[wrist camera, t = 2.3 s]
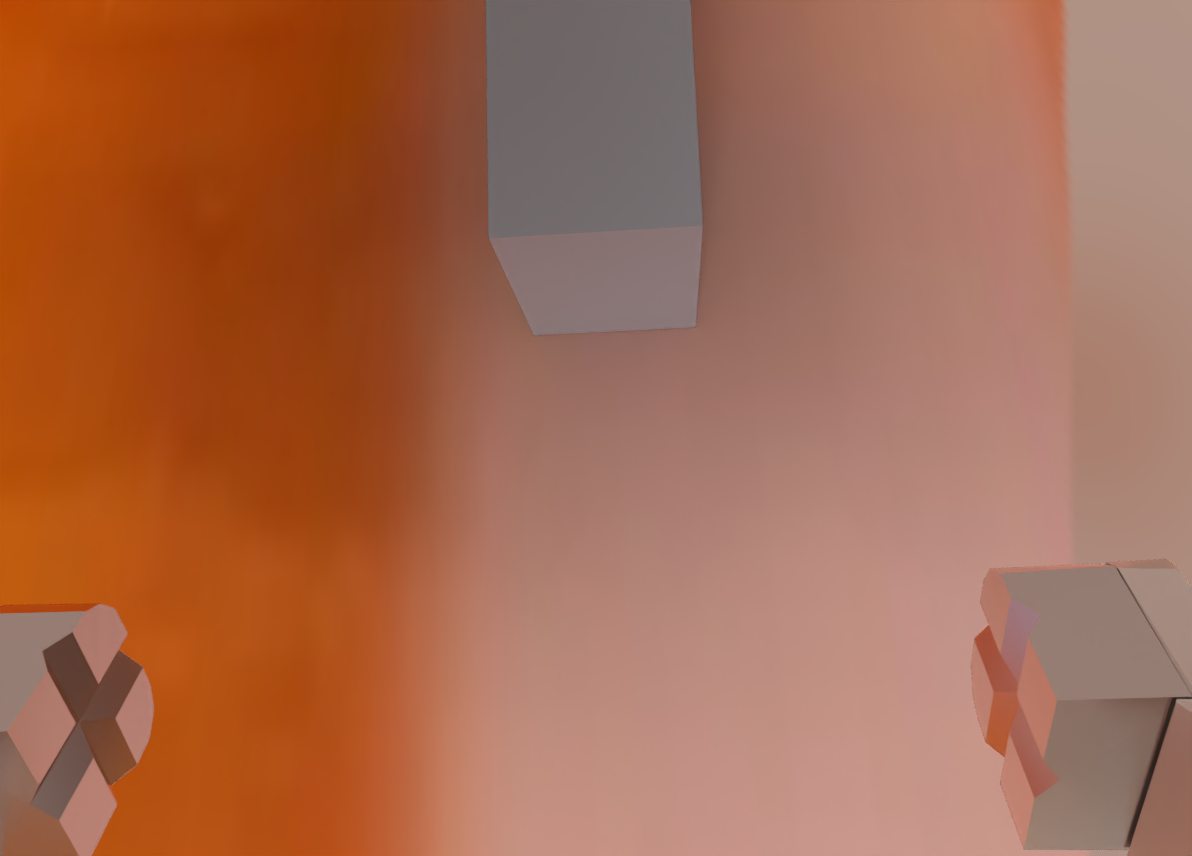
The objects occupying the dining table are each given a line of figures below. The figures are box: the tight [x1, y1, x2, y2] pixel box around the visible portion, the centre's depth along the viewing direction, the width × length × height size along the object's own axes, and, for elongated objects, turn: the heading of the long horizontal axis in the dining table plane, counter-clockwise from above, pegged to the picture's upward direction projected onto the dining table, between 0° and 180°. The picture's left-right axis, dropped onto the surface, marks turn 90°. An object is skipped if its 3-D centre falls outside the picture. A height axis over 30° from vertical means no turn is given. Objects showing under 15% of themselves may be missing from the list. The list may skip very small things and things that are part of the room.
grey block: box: [486, 0, 703, 336], centre depth 29 cm, size 13×5×8 cm, turn 2°
